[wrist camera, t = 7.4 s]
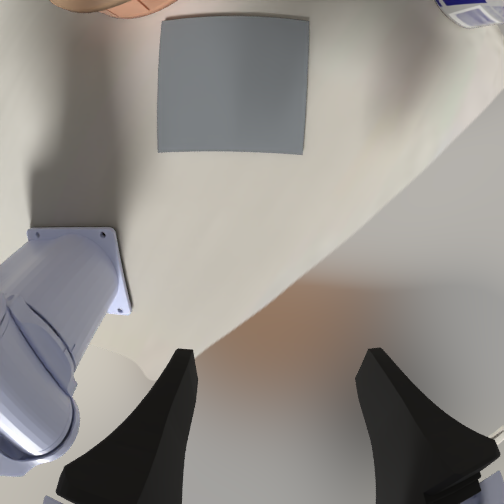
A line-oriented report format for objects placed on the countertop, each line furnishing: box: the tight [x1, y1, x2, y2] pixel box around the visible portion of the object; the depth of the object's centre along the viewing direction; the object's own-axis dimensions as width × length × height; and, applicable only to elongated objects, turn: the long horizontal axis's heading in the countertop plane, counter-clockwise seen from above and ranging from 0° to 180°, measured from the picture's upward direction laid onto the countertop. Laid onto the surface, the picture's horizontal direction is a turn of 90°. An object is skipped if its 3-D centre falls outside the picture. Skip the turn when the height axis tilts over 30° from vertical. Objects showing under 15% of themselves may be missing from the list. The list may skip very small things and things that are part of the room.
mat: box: [157, 16, 309, 155], centre depth 15 cm, size 9×9×1 cm
